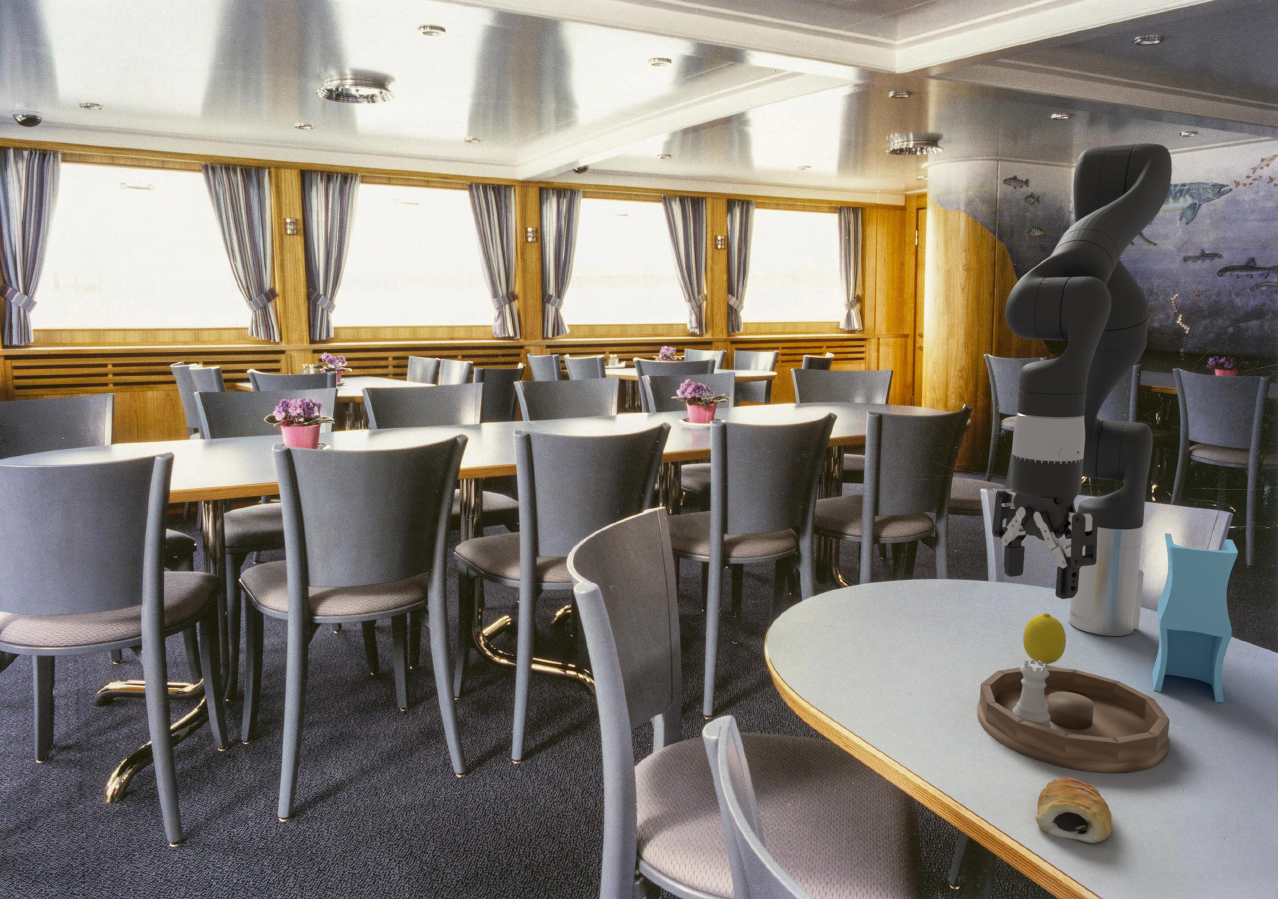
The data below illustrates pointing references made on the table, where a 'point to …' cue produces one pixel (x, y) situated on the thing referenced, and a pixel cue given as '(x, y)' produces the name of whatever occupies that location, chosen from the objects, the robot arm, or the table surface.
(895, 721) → the table surface
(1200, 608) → the blue wavy stand
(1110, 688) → the ring tray
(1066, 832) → the pastry
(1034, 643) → the lemon
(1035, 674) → the rook chess piece
